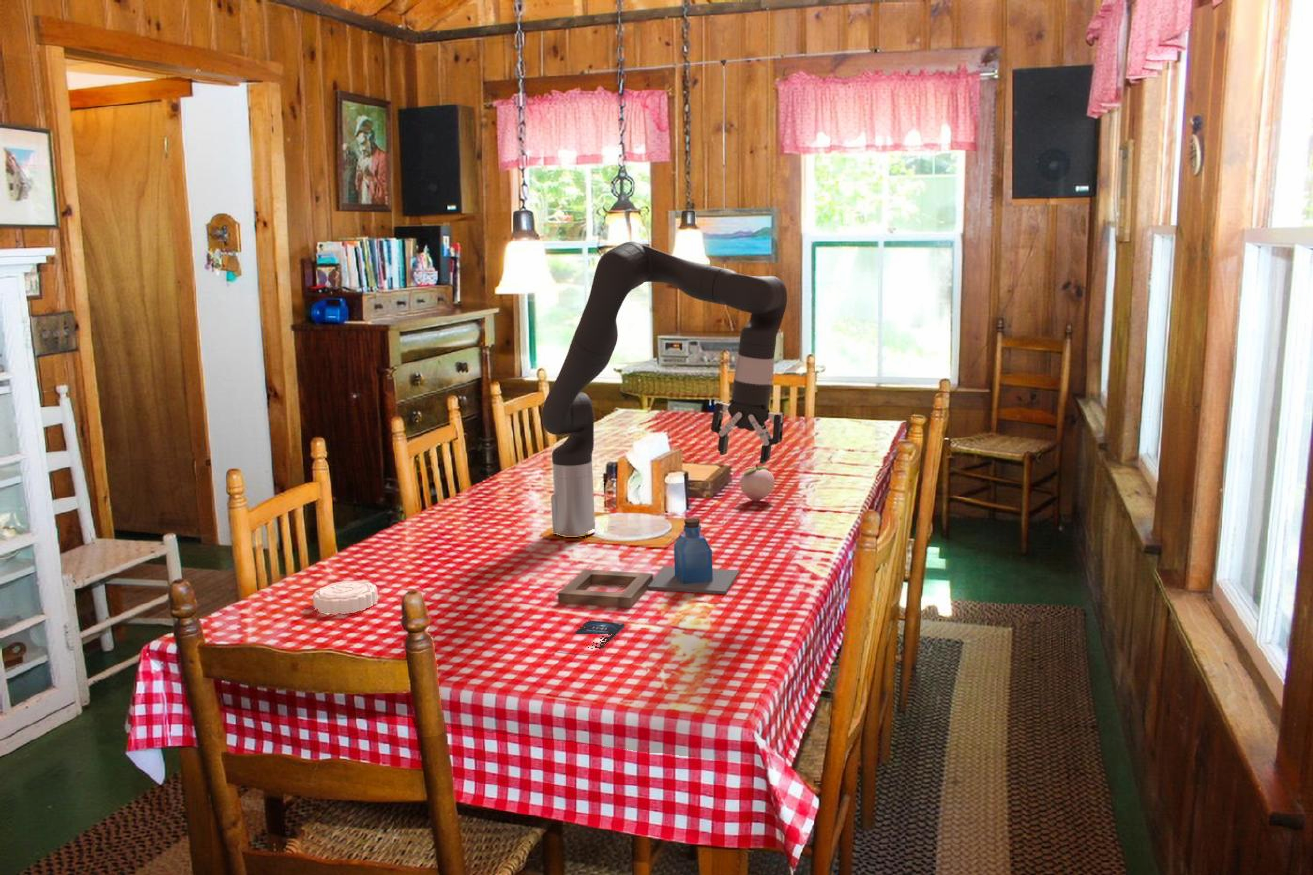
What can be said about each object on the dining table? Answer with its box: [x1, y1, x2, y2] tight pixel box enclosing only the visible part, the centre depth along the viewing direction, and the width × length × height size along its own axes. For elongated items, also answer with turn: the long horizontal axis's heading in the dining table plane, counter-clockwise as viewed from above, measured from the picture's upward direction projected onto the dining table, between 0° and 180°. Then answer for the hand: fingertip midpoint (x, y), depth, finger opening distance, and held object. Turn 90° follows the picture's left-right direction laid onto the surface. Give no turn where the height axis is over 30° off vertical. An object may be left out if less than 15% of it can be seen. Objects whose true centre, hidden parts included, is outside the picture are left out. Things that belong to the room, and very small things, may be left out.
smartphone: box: [573, 620, 626, 650], centre depth 186 cm, size 8×1×15 cm
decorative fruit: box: [739, 463, 775, 503], centre depth 273 cm, size 9×8×10 cm
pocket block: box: [557, 569, 654, 609], centre depth 209 cm, size 15×15×2 cm
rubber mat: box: [648, 565, 740, 595], centre depth 214 cm, size 16×13×1 cm
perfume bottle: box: [673, 517, 714, 584], centre depth 213 cm, size 6×6×12 cm
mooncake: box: [312, 580, 379, 614], centre depth 207 cm, size 12×12×4 cm
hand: (743, 458), depth 212 cm, fingers open, 8 cm apart
